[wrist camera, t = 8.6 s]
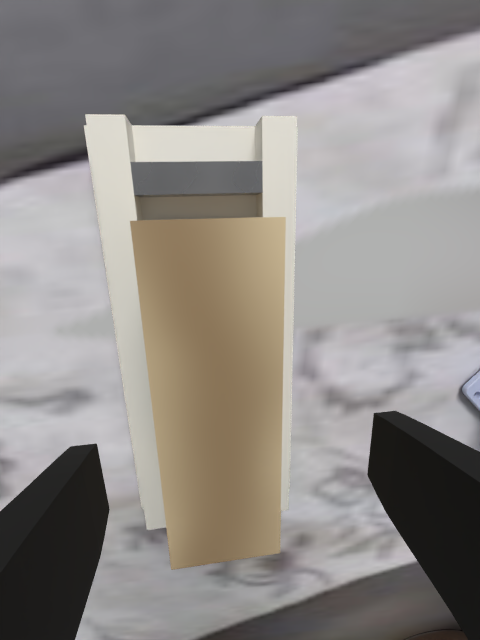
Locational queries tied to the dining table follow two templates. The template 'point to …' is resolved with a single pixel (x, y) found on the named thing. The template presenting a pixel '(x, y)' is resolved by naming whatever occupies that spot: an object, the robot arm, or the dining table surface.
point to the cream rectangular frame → (185, 203)
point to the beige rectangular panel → (215, 380)
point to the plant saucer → (440, 635)
